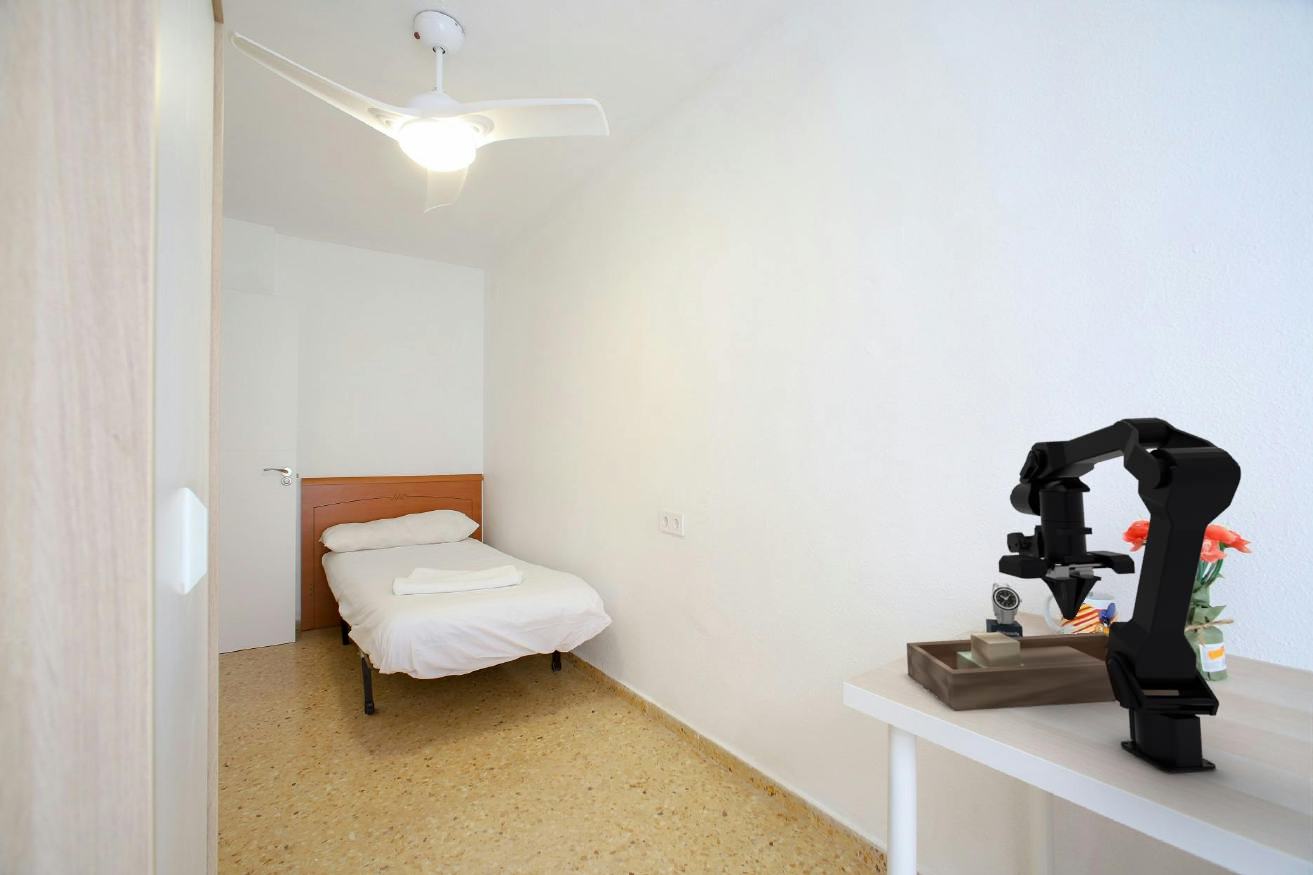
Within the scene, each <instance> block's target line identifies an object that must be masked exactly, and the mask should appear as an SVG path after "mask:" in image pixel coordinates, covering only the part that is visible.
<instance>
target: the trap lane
mask: <svg viewBox="0 0 1313 875" xmlns="http://www.w3.org/2000/svg"><path fill="white" fill-rule="evenodd" d="M1108 637H1109V633H1107V632H1104V631H1102V632H1101V631H1098V632H1095V633H1077V634H1063V633H1062V634H1060V633H1059V634H1046V635H1045V634H1044V635H1043V634H1042V635H1027V636H1026V635H1025V636H1024V635H1023V637H1010V638H1012V639H1014V640H1017V641H1019V642H1020V657H1021V666H1006V667H989V668H988V667H986V666H985V665H983V664H981V663H980V662H978V661H976V660H975V659H973V658H972V654H971V638H969V639H956V640H955V639H953V640H939V641H938V640H935V641H934V640H933V641H918V642H906V660H907V662H906V663H907V676H909V677H911V679H913V680H914V679H915V680H916V681H915V680H914V681H915V682H917V683H918V684H919V685H920V686H922V687H923V686H924V687H925V688H924V687H923V688H924V689H926V690H927V689H928V690H929V691H928V690H927V691H928V692H930V693H931V694H932V693H933V694H934V695H933V694H932V695H933V696H935V697H936V696H937V697H938V698H937V697H936V698H937V699H938V700H940V701H941V700H942V701H943V702H942V701H941V702H942V703H944V704H945V705H946V706H948V707H949V708H950V709H951V710H952V711H954V712H957V711H958V712H959V711H975V710H989V709H991V710H992V709H1005V708H1006V709H1007V708H1021V707H1037V706H1052V705H1056V706H1057V705H1068V704H1085V703H1101V702H1114V701H1115V702H1116V701H1117V700H1116V699H1115V697H1114V693H1113V690H1112V686H1111V683H1110V679H1109V675H1108V671H1107V668H1106V664H1105V659H1106V655H1107V651H1108V649H1106V648H1105V645H1106V644H1107V641H1108ZM1142 691H1143V693H1144V694H1159V695H1179V693H1178V691H1147V690H1142ZM1117 702H1118V701H1117Z"/></svg>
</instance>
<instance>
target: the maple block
mask: <svg viewBox="0 0 1313 875" xmlns="http://www.w3.org/2000/svg"><path fill="white" fill-rule="evenodd" d="M970 639H971V654H972V658H973V659H975V660H976V661H978V662H980V663H981V664H983V665H985V666H986V667H988V668H989V667H1006V666H1021V657H1020V642H1019V641H1017V640H1014V639H1012V638H1010V637H1008V636H1006V635H1004V634H1002V633H1000V632H994V633H987V632H980V633H970Z"/></svg>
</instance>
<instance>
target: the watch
mask: <svg viewBox="0 0 1313 875" xmlns="http://www.w3.org/2000/svg"><path fill="white" fill-rule="evenodd" d="M991 602H992V612H993V615H994V617H995V619H991V618H986V619H985V624H986V633H994V632H1000V633H1002V634H1004V635H1006V636H1008V637H1023V636H1024V634H1023V631H1024V630H1023V626H1022V625H1021V624H1020V623H1019V622H1018V620H1015V618H1016V617H1015V616H1017V614H1018V611H1019V607H1020V605H1021V603H1023V598H1020V595H1019V594H1018V592H1017V591H1015V589H1014V588H1013V587H1012V585H1011V586H1010V584H1009V583H1007V582H1006V583H1003V582H993V584H992V594H991Z"/></svg>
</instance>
